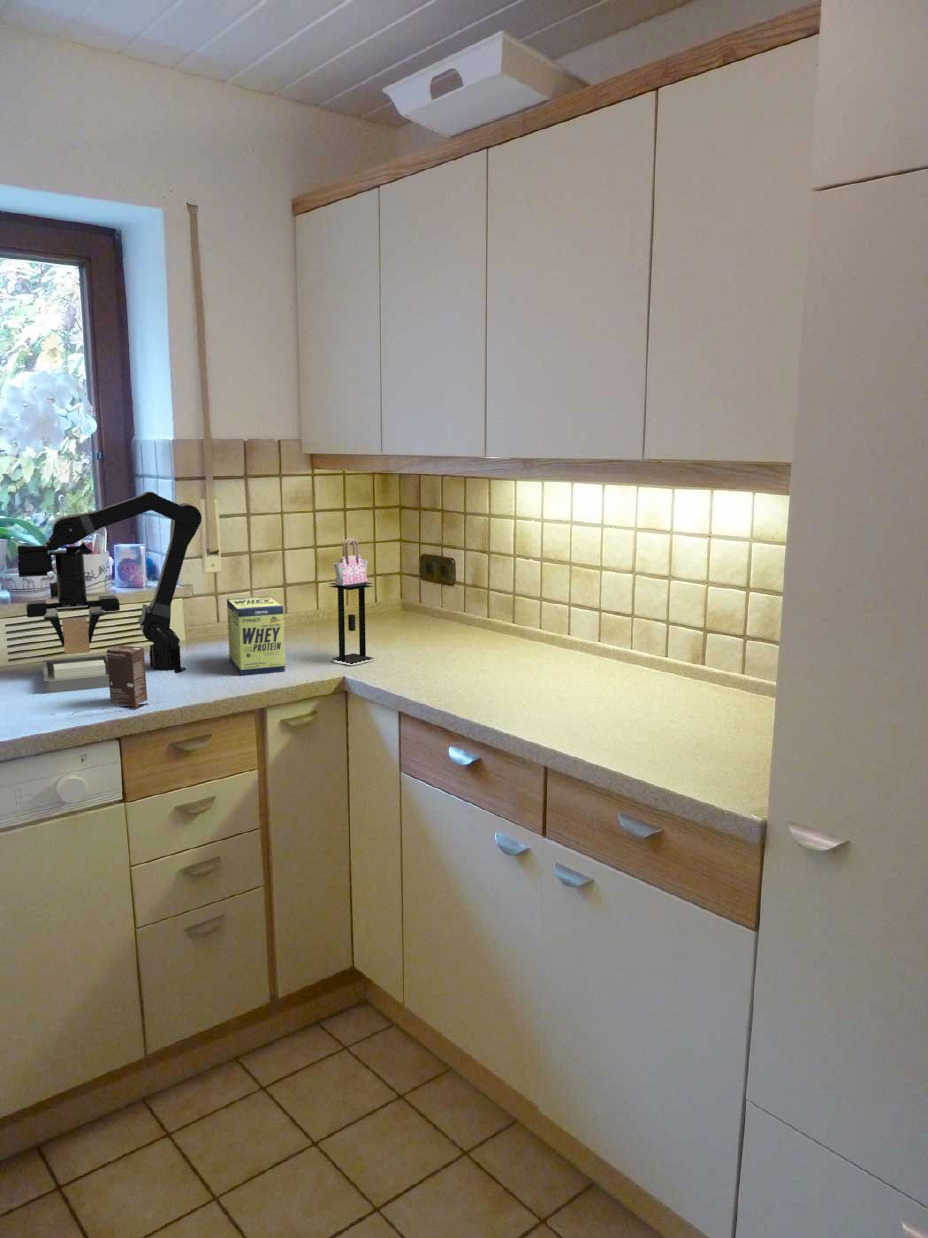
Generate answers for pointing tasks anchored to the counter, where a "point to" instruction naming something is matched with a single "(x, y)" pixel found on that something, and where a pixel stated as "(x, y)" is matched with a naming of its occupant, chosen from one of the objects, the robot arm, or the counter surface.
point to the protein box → (256, 635)
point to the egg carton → (79, 669)
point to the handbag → (351, 578)
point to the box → (127, 676)
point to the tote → (73, 683)
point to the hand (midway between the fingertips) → (76, 644)
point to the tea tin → (75, 635)
